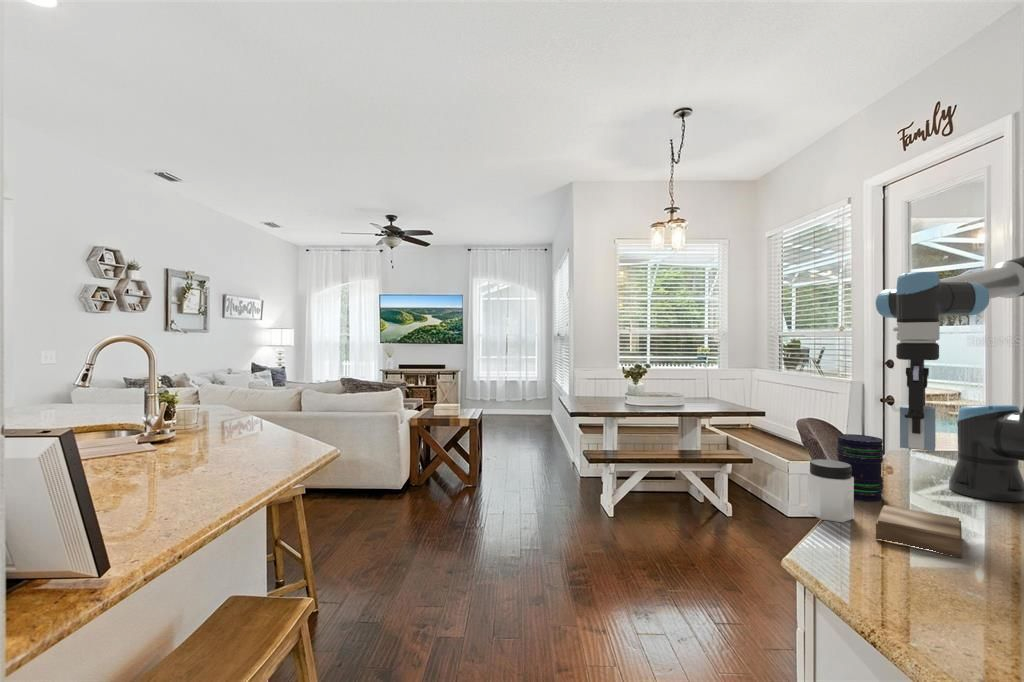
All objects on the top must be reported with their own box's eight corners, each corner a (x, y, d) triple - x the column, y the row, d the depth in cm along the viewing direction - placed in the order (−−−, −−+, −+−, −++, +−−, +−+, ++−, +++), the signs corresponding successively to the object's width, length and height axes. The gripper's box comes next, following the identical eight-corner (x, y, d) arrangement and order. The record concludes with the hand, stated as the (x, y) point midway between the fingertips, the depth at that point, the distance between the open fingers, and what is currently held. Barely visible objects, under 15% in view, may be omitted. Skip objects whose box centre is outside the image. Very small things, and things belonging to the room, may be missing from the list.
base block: (882, 522, 113) (882, 504, 113) (960, 537, 105) (961, 517, 105) (875, 540, 103) (875, 520, 103) (961, 558, 95) (961, 536, 95)
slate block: (901, 443, 120) (901, 404, 120) (935, 446, 116) (935, 406, 116) (899, 447, 115) (899, 407, 115) (934, 451, 111) (934, 409, 111)
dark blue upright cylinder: (841, 499, 130) (841, 439, 130) (832, 488, 139) (832, 433, 139) (888, 504, 126) (889, 442, 126) (876, 492, 135) (876, 435, 135)
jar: (840, 525, 112) (840, 470, 112) (801, 514, 119) (801, 462, 118) (859, 517, 117) (859, 464, 117) (821, 507, 123) (821, 457, 123)
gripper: (899, 341, 125) (899, 437, 125) (892, 342, 110) (892, 450, 111) (940, 341, 120) (939, 441, 120) (938, 342, 106) (937, 455, 106)
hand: (917, 445), depth 115 cm, fingers closed on slate block, 6 cm apart
